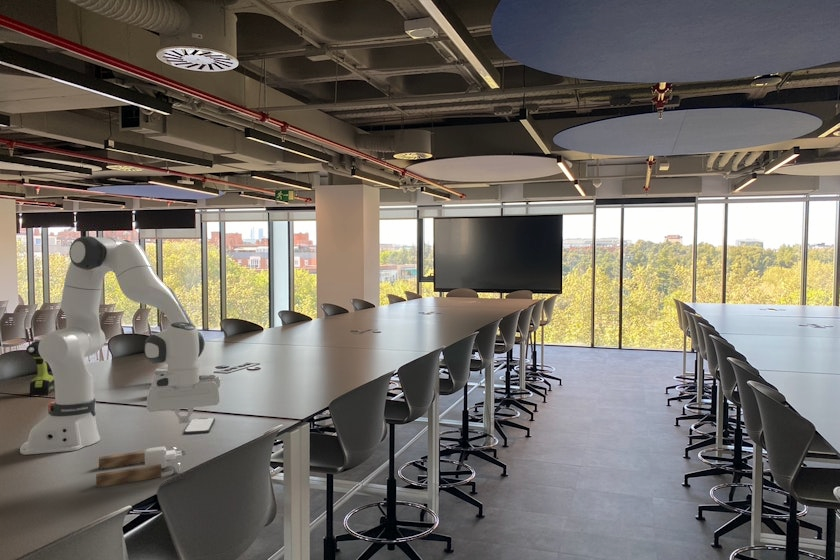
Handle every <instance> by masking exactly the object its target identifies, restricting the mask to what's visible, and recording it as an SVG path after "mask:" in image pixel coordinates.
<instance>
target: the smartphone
mask: <svg viewBox="0 0 840 560" xmlns="http://www.w3.org/2000/svg"><path fill="white" fill-rule="evenodd" d="M215 422H216V418H215V417H205V418H192V419H190V420H189V423H187V424H188V425H186V427H185V429H184V431H183V435H186V434H187V435H200V434H201V435H202V433H203V434H209V433H210V432H211V431H212V429H213V426H214V425H215Z"/></svg>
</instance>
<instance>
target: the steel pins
mask: <svg viewBox="0 0 840 560" xmlns="http://www.w3.org/2000/svg"><path fill="white" fill-rule="evenodd" d="M168 450H175V452H176V451H177V446H170V447H169V449H168ZM179 473H180V474H181V461H174V462H172V475H175V476H177V475H180V474H179Z"/></svg>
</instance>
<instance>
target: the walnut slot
mask: <svg viewBox="0 0 840 560" xmlns="http://www.w3.org/2000/svg"><path fill="white" fill-rule="evenodd" d="M140 462H145V450H140V451H139V450H138V451H133V452H125V453H119V454H112V455H105V456H99V457H98V470H102V469H103V468H104V469H111V468H117V466H118V467H123V465H125V466H130V465H129V464H131V465H135V464H134V463H138V464H141V463H140ZM95 476H96V477H95V478H96V480H95V483H96V484H95V485H96V488H101V487H102V488H103V487H107V486H114V485H120V484H126V483H132V482H139V481H144V480H151V479H159V478H162V469H161V464H159V465H152V466H146V467H145V466H140V467H134V468H128V469H120V470H113V471H107V472H102V473H101V472H100V473H96V475H95Z"/></svg>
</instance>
